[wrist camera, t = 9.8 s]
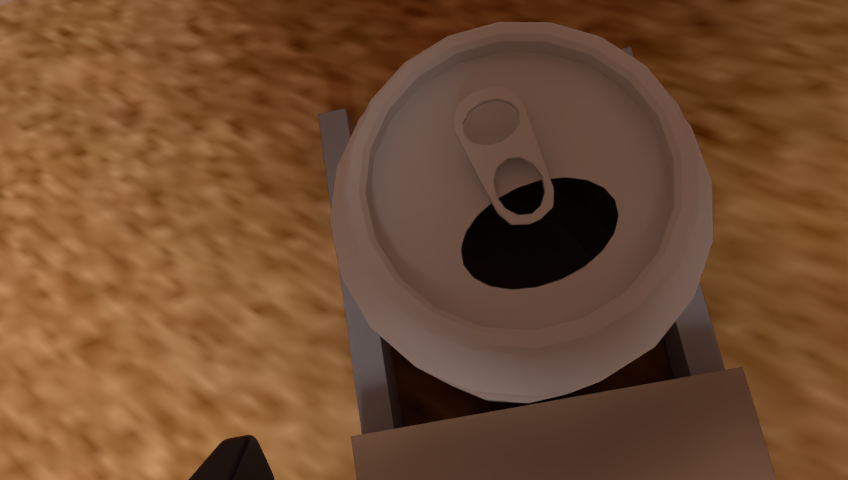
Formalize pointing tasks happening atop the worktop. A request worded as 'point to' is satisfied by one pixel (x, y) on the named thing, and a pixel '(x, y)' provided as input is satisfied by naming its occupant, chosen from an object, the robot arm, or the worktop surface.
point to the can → (522, 211)
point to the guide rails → (373, 355)
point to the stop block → (587, 438)
